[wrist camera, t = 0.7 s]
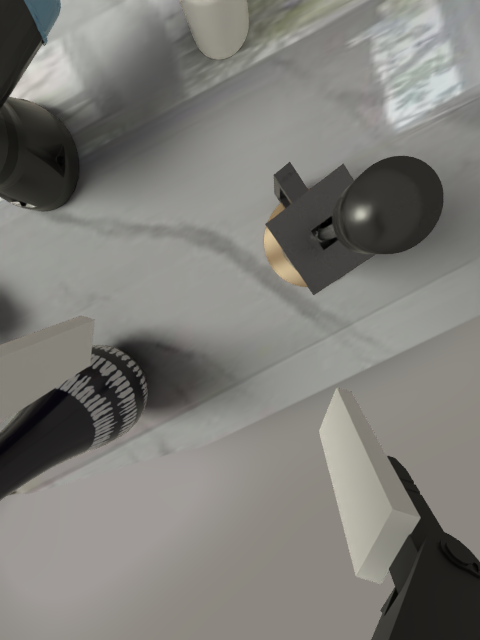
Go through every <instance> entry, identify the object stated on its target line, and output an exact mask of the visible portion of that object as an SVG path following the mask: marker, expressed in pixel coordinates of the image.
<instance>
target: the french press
mask: <svg viewBox="0 0 480 640" xmlns="http://www.w3.org/2000/svg"><path fill="white" fill-rule="evenodd" d="M353 181H354V180H353V178H352V177H351V175H350V174H349V172H348V170H347V169H346V167H345V166H344V164H342V165H341V166H340V167H338V168H337V169H336V170H335V171H333V172H332V173H331V174H329V175H328V176H327V177H325V178H324V179H323V180H322V181H320V182H319V183H318V184H316V185H315V186H314V187H313V188H311V189H310V190H308V189H307V187H306V186H305V184H304V183H303V181H302V180H301V178H300V177H299V175H298V173H297V172H296V170H295V169H294V167H293V166H292V164H291V163H290V162H289V163H288V164H287V165H285V166H284V167H283V168H282V169H281V170H279V171H278V172H277V173H276V174H274V193H275V195H276V197H277V198H278V200H279V201H280V203H281V204H282V206H283V207H284V210H283V211H282V212H280V213H279V214H278V215H276V216H275V217H274V218H273V219H271V220H270V221H269V222H267V223H266V224H265V225H266V226H267V228H268V229H269V231H270V232H271V233H272V235H273V236H274V238H275V239H276V241H277V242H278V244H279V245H280V247H281V252H282V253H283V255H284V257H285V259H286V260H287V261H288V262H289V264H290V265H291V266H292V267H293V268H294V269H295V270H297V272H298V273H299V275H300V276H301V277H302V279H303V280H304V282H305V283H306V285H307V286H308V288H309V289H310V291H311V292H312V294H313V295H315V294H316V293H318V292H319V291H321V290H322V289H324V288H325V287H327V286H328V285H330V284H331V283H333V282H334V281H336V280H337V279H339V278H340V277H342V276H343V275H345V274H346V273H348V272H349V271H351V270H352V269H354V268H355V267H357V266H359V265H360V264H362V263H363V262H365V261H366V260H368V259H369V258H371V257H372V256H374V255H375V254H361V253H356V252H353V251H351V250H349V249H347V248H346V247H345V246H343V245H342V244H341V243H340V241H339V240H337V241H336V242H334V243H333V244H331V245H330V246H329V247H327V248H326V249H324V250H323V249H322V247H321V246H320V244H319V243H318V241H317V240H316V238H315V237H314V235H313V234H312V232H311V230H313V229H314V228H315V227H317V226H318V225H319V224H321V223H322V222H324V221H325V220H326V219H328V218H329V217H330V216H331V218H332V215H333V210H334V207H335V204H336V202H337V200H338V198H339V196H340V195H341V194H342V192H343V191H344V190H345V189H346V188H347V187H348V186H349V185H350V184H351V183H352V182H353Z"/></svg>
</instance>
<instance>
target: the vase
mask: <svg viewBox="0 0 480 640" xmlns="http://www.w3.org/2000/svg"><path fill="white" fill-rule="evenodd" d="M147 399H148V384H147V379H146V376H145V374H144V372H143V370H142V368H141V367H140V365H139V364H138V363H137V361H136V360H135V359H134V358H132V357H131V356H130V355H129V354H127V353H126V352H124V351H122V350H120V349H117V348H114V347H110V346H104V345H93V346H92V351H91V362H90V366H88V367H87V368H85V369H84V370H82V371H81V372H79V373H77V374H76V375H74V376H73V377H71V378H70V379H68V380H67V381H65V382H64V383H62V384H60V385H59V386H57V387H56V388H54V389H53V390H51V391H50V392H48V393H47V394H45V395H43V396H42V397H40V398H39V399H37V400H36V401H34V402H33V403H31V404H30V405H28V406H26V407H25V408H23V409H22V410H20V411H19V412H18V413H17V414H16V416H15V417H14V418H13V419H12V420H11V421H10V422H9V424H8V425H7V426H6V427H5V428H4V429H3V430H2V431H1V432H0V500H2V499H3V498H5V497H6V496H8V495H9V494H11V493H12V492H14V491H15V490H17V489H18V488H20V487H21V486H23V485H24V484H26V483H27V482H29V481H30V480H32V479H34V478H35V477H37V476H39V475H40V474H42V473H43V472H45V471H47V470H49V469H50V468H52V467H54V466H56V465H58V464H60V463H62V462H64V461H66V460H68V459H71V458H73V457H75V456H78V455H80V454H83V453H85V452H88V451H91V450H93V449H96V448H98V447H101V446H104V445H106V444H108V443H110V442H112V441H115V440H117V439H118V438H119V437H121V436H122V435H124V434H125V433H126V432H128V431H129V430H130V429H131V428H132V427H133V426H134V425H135V424H136V423H137V421H138V420H139V418H140V417H141V415H142V414H143V412H144V409H145V406H146V403H147Z"/></svg>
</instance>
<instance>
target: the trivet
mask: <svg viewBox="0 0 480 640" xmlns="http://www.w3.org/2000/svg"><path fill="white" fill-rule="evenodd" d="M308 190H310V189H308ZM283 210H284V207H283V206H282V204H281V203H280V204H279V205H278V206H277V208H276V209H275V210H274V212H273V213H272V215H271V217H270V218H269V220H268V222H269V221H270V220H271V219H273V218H274V217H275V216H276V215H278V214H279V213H280V212H282V211H283ZM264 246H265V252H266V256H267V259H268V261H269V263H270V265H271V267H272V268H273V269H274V271H275V272H276V273H277V274H278V275H279V276H280V277H281V278H283V279H284V280H286V281H288V282H289V283H292V284H294V285H298V286H302V287H308V286H307V285H306V283H305V282H304V280H303V279H302V277H301V276H300V275H299V273H298V272H297V270H295V269H294V268H293V267H292V266H291V265H290V264H289V262H288V261H287V260H286V259H285V257H284V255H283V253H282V252H281V247H280V245H279V244H278V242H277V241H276V239H275V238H274V236H273V235H272V233H271V232H270V231H269V229H268V228H267V226H266V230H265V236H264Z"/></svg>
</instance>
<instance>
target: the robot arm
mask: <svg viewBox="0 0 480 640" xmlns="http://www.w3.org/2000/svg"><path fill="white" fill-rule="evenodd" d="M60 8H61V3H60V0H0V197H1V198H3V199H5V200H6V201H8V202H10V203H12V204H14V205H16V206H19V207H22V208H25V209H30V210H36V211H49V210H53V209H56V208H58V207H60V206H61V205H62V204H64V203H65V202H66V201H67V200H68V199H69V197H70V196H71V194H72V193H73V191H74V189H75V186H76V183H77V179H78V173H79V162H78V155H77V150H76V147H75V144H74V141H73V139H72V137H71V135H70V133H69V131H68V130H67V128H66V127H65V126H64V124H63V123H62V122H61V121H60V120H59V119H58V118H57V117H56V116H55V115H53V114H52V113H50V112H49V111H47V110H45V109H44V108H42V107H41V106H39V105H37V104H35V103H33V102H30V101H28V100H24V99H17V98H13V97H9V96H10V94H11V93H12V91H13V89H14V88H15V86H16V85H17V83H18V82H19V80H20V78H21V77H22V75H23V74H24V72H25V71H26V69H27V68H28V66H29V64H30V63H31V61H32V60H33V58H34V57H35V55H36V54H37V52H38V50H39V49H40V47H41V46H42V44H43V45H44V46H45V45H46V43H47V36H48V34H49V32H50V30H51V29H52V27H53V25H54V23H55V21H56V20H57V18H58V16H59V13H60ZM94 320H95V319H91V318H87V317H84V316H79V317H76V318H73V319H70V320H68V321H65V322H62V323H59V324H56V325H54V326H51V327H48V328H45V329H42V330H40V331H37V332H34V333H31V334H28V335H26V336H23V337H20V338H17V339H14V340H12V341H9V342H6V343H3V344H0V423H2V422H3V421H5V420H6V419H8V418H9V417H11V416H12V415H14V414H16V413H17V412H19V411H20V410H22V409H23V408H25V407H26V406H28V405H30V404H31V403H33V402H34V401H36V400H37V399H39V398H40V397H42V396H43V395H45V394H47V393H48V392H50V391H51V390H53V389H54V388H56V387H57V386H59V385H60V384H62V383H64V382H65V381H67V380H68V379H70V378H71V377H73V376H74V375H76V374H77V373H79V372H81V371H82V370H84V369H85V368H87V367H88V366H90V362H91V351H92V341H93V330H94ZM319 433H320V437H321V441H322V445H323V449H324V453H325V456H326V460H327V464H328V468H329V472H330V476H331V480H332V484H333V488H334V492H335V496H336V500H337V504H338V508H339V512H340V516H341V519H342V523H343V527H344V531H345V535H346V539H347V543H348V547H349V551H350V555H351V558H352V562H353V567H354V571H355V574H356V576H357V577H359V578H363V579H366V580H369V581H372V582H376V583H379V584H382V582H383V580H384V578H385V577H386V575H387V574H388V571H390V573H391V576H392V579H393V582H394V584H395V588H394V590H393V591H392V593H391V594H390V596H389V598H388V599H387V601H386V602H385V604H384V606H383V607H382V609H381V612H382V616H381V618H380V620H379V623H378V625H377V627H376V630H375V632H374V635H373V637H372V639H371V640H480V562H479V560H478V559H477V558H476V557H475V556H474V555H473V554H472V552H471V551H470V550H469V549H468V548H467V547H466V546H465V545H463V544H462V543H461V542H460V541H459V540H457V539H456V538H454V537H452V536H451V535H449V534H447V533H445V532H444V531H443V529H442V528H441V526H440V525H439V523H438V521H437V520H436V518H435V516H434V515H433V513H432V511H431V510H430V508H429V506H428V505H427V503H426V501H425V500H424V498H423V496H422V495H420V491H419V490H418V488H417V487H416V485H414V481H413V480H412V479H411V476H410V475H409V473H408V472H407V470H406V469H405V468H404V467H403V466H402V465H401V464H400V463H399V462H398V461H397V459H395V458H393V457H390V456H387V455H386V454H385V452H384V450H383V448H382V446H381V445H380V443H379V441H378V439H377V437H376V436H375V434H374V432H373V430H372V428H371V426H370V425H369V423H368V421H367V419H366V417H365V415H364V414H363V412H362V410H361V408H360V406H359V404H358V403H357V401H356V399H355V397H354V396H353V394H352V392H351V391H348V390H344V389H340V388H336V390H335V393H334V395H333V398H332V400H331V403H330V405H329V408H328V410H327V413H326V415H325V418H324V420H323V423H322V425H321V428H320V430H319Z"/></svg>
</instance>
